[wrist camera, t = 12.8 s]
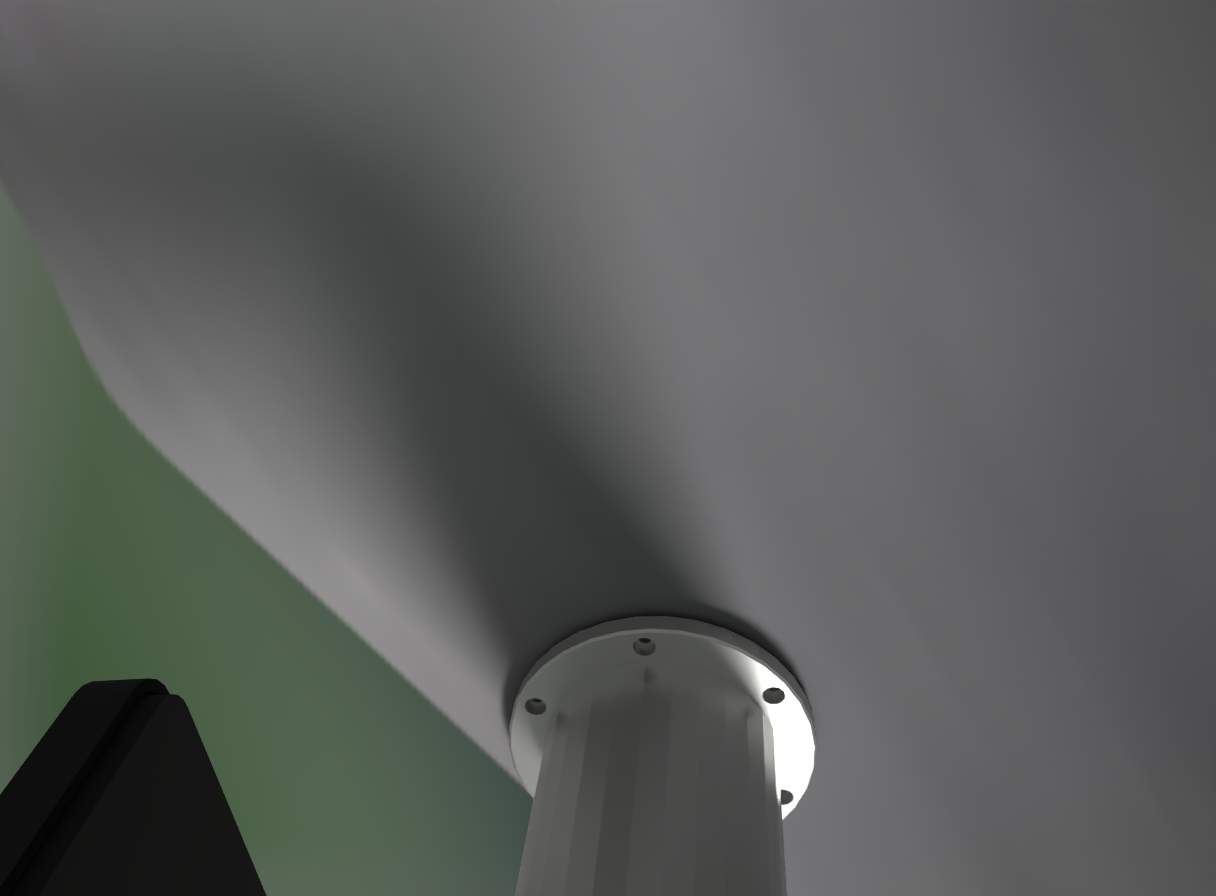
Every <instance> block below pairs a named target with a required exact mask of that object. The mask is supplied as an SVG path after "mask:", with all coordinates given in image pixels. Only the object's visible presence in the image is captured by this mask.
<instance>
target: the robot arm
mask: <svg viewBox="0 0 1216 896" xmlns="http://www.w3.org/2000/svg"><path fill="white" fill-rule="evenodd" d="M509 747H510V752H511V756H512V760H513V764H514V768H515V770H516V772H517V774H518V775H519V777H520V779H521V781H522V783H523V785H524V787H525V789H526V790H527V791H528V792H529V794H530V795H531V796H532V797H533V799H534V801H533V807H532V812H531V817H530V822H529V827H528V833H527V838H526V843H525V848H524V853H523V859H522V864H521V870H520V874H519V880H518V885H517V890H516V895H515V896H787V891H786V874H785V857H784V840H783V823H782V821H783V820H784V819H785V818H786V817H787V816H788V815H789V814H790V813H791V812H792V811H793V810H794V809H795V808H796V807H797V805H798V804H799V802H800V800H801V799H802V797H803V796H804V794H805V792H806V791H807V789H808V788H809V785H810V782H811V779H812V776H813V773H814V770H815V767H816V752H817V741H816V732H815V723H814V718H813V715H812V712H811V709H810V706H809V703H808V700H807V697H806V695H805V694H804V692H803V691H802V689H801V687H800V686H799V684H798V683H797V681H796V679H795V678H794V676H793V675H792V674H791V673H790V672H789V671H788V670H787V669H786V668H785V667H784V666H783V665H782V664H781V663H780V662H779V661H778V660H777V659H776V658H775V657H774V656H773V655H771V654H770V653H768V652H767V651H766V650H764V649H763V648H761V647H760V646H758V645H757V644H756V643H754V642H753V641H751V640H749V639H747V638H744V637H742V636H740V635H738V634H736V633H734V632H732V631H730V630H728V629H725V628H722V627H719V626H715V625H712V624H708V623H705V622H702V621H698V620H692V619H685V618H677V617H670V616H640V617H630V618H625V619H619V620H613V621H608V622H604V623H601V624H598V625H595V626H593V627H590V628H587V629H584V630H581V631H579V632H577V633H575V634H573V635H572V636H570V637H568V638H566V639H565V640H563V641H561V642H559V643H558V644H556V645H555V646H554V647H552V648H551V649H550V650H549V651H548V652H547V653H546V654H544V655H543V656H542V657H541V658H540V659H539V660H538V661H537V662H536V663H535V664H534V666H533V667H532V668H531V670H530V671H529V673H528V674H527V675H526V677H525V678H524V679H523V681H522V684H521V686H520V689H519V691H518V694H517V696H516V698H515V701H514V706H513V711H512V716H511V720H510V724H509ZM0 896H266V894H265V891H264V889H263V886H262V885H261V882H260V879H259V877H258V874H257V872H256V870H255V867H254V865H253V862H252V860H251V858H250V855H249V853H248V851H247V848H246V846H245V844H244V841H243V839H242V836H241V834H240V831H239V829H238V826H237V825H236V822H235V819H234V817H233V815H232V812H231V810H230V807H229V805H228V803H227V800H226V798H225V795H224V793H223V791H222V788H221V786H220V783H219V781H218V779H217V776H216V774H215V771H214V769H213V767H212V764H211V762H210V760H209V757H208V755H207V752H206V750H205V747H204V745H203V743H202V740H201V738H200V736H199V733H198V731H197V729H196V726H195V724H194V721H193V719H192V716H191V714H190V712H189V709H188V707H187V706H186V703H185V702H184V700H183V699H182V698H181V697H180V696H178V695H173V694H169V692H168V690H167V689H166V687H165V685H164V684H162V683H161V682H160V681H158V680H156V679H149V678H148V679H129V680H110V681H92V682H90V683H87V684H85V685H83V686H82V687H81V688H80V689H79V690H78V691H77V692H76V693H75V694H74V695H73V697H72V698H71V699H70V701H69V702H68V703H67V705H66V706H65V707H64V709H63V710H62V712H61V713H60V714H59V716H58V717H57V718H56V720H55V721H54V723H53V724H52V725H51V726H50V728H49V729H48V731H47V732H46V733H45V735H44V736H43V737H42V739H41V740H40V742H39V743H38V744H37V745H36V747H35V748H34V750H33V751H32V752H31V754H30V755H29V756H28V758H27V759H26V761H25V762H24V763H23V765H22V766H21V767H20V769H19V770H18V771H17V773H16V774H15V775H14V777H13V778H12V779H11V781H10V782H9V784H8V785H7V786H6V788H5V789H4V790H3V792H2V793H1V794H0Z"/></svg>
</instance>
